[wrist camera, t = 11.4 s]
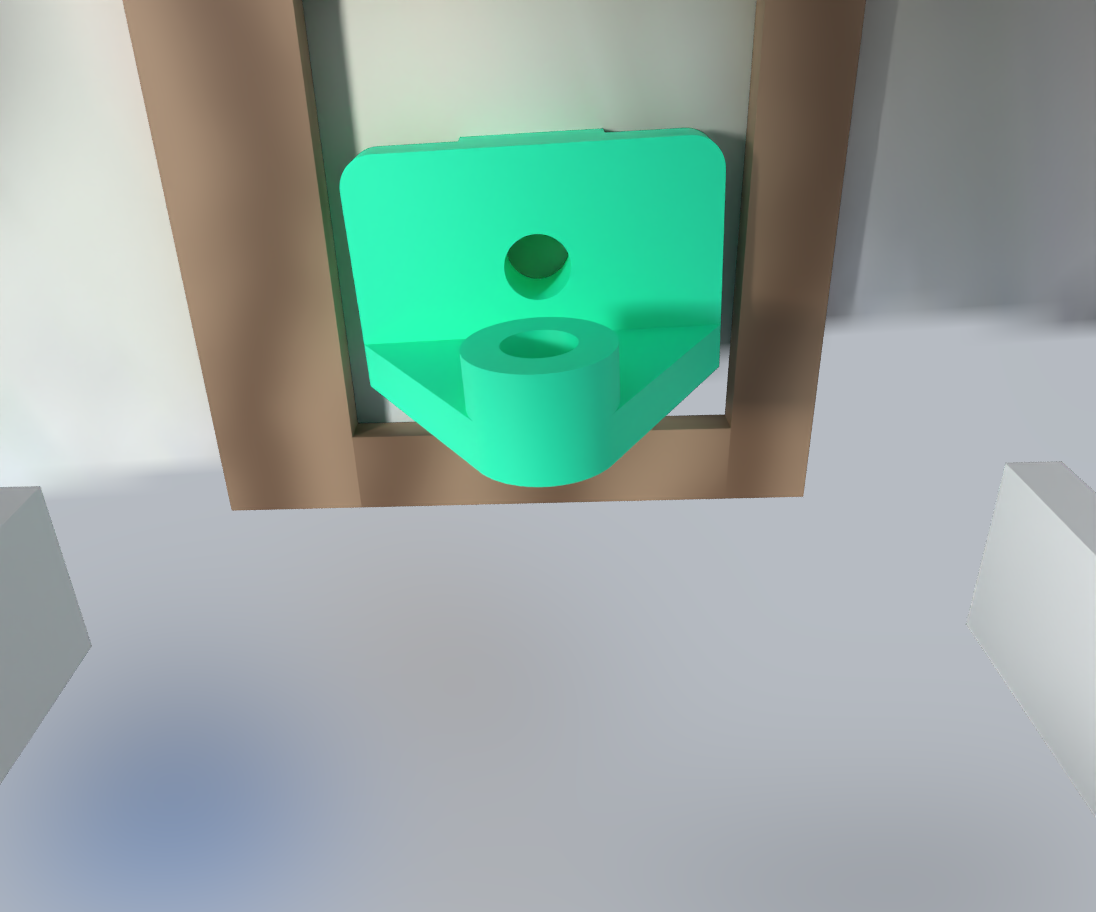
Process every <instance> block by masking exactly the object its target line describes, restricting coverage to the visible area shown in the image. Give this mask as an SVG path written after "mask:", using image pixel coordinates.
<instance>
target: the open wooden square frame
mask: <svg viewBox="0 0 1096 912" xmlns="http://www.w3.org/2000/svg"><path fill="white" fill-rule="evenodd" d="M865 4H866V0H757V2H756V15H755V28H754V41H753V54H752V67H751V80H750V93H749V106H748V119H747V132H746V146H745V159H744V172H743V185H742V198H741V211H740V224H739V237H738V250H737V263H736V276H735V289H734V302H733V316H732V329H731V342H730V355H729V368H728V381H727V395H726V408H725V415H691V416H690V415H689V416H665V417H664V418H663V419H662V420H661V421H660V422H659V423H658V424H657V425H655V426H654V427H653V428H652V429H651V430H650V431H649V432H648V433H647V434H646V435H645V436H644V437H642V438H641V439H640V440H639V441H638V442H637V443H636V444H635V445H634V446H633V447H632V448H631V449H629V450H628V451H627V452H626V453H625V454H624V455H623V456H622V457H621V458H620V459H619V460H618V461H616V462H615V463H614V464H613V465H612V466H611V467H610V468H608V469H607V470H605V471H604V472H602V473H600V474H598V475H596V476H594V477H592V478H589V479H586V480H583V481H580V482H576V483H572V484H567V485H561V486H552V487H524V486H516V485H510V484H505V483H502V482H498V481H496V480H493V479H491V478H489V477H487V476H485V475H483V474H482V473H480V472H479V471H478V470H477V469H475V468H474V467H473V466H472V465H470V464H469V463H468V462H466V461H465V460H464V459H463V458H461V457H460V456H459V455H458V454H456V453H455V452H454V451H452V450H451V449H450V448H449V447H447V446H446V445H445V444H444V443H442V442H441V441H440V440H439V439H437V438H436V437H435V436H433V435H432V434H431V433H430V432H428V431H427V430H426V429H425V428H423V427H422V426H421V425H419V424H418V423H417V422H400V423H358V421H357V414H356V406H355V398H354V391H353V383H352V376H351V368H350V360H349V353H348V345H347V338H346V330H345V323H344V315H343V307H342V300H341V292H340V285H339V277H338V269H337V262H336V254H335V247H334V239H333V231H332V224H331V216H330V209H329V201H328V194H327V186H326V178H325V171H324V163H323V156H322V148H321V140H320V133H319V125H318V118H317V110H316V103H315V95H314V87H313V80H312V72H311V65H310V57H309V49H308V42H307V34H306V27H305V19H304V12H303V4H302V0H123V5H124V9H125V14H126V19H127V23H128V28H129V33H130V37H131V42H132V47H133V51H134V56H135V61H136V65H137V70H138V75H139V79H140V84H141V89H142V93H143V98H144V103H145V107H146V112H147V117H148V121H149V126H150V131H151V135H152V140H153V145H154V149H155V154H156V159H157V163H158V168H159V173H160V177H161V182H162V187H163V192H164V196H165V201H166V206H167V210H168V215H169V220H170V224H171V229H172V234H173V238H174V243H175V248H176V252H177V257H178V262H179V266H180V271H181V276H182V280H183V285H184V290H185V294H186V299H187V304H188V308H189V313H190V318H191V322H192V327H193V332H194V336H195V341H196V346H197V350H198V355H199V360H200V364H201V369H202V374H203V378H204V383H205V388H206V392H207V397H208V402H209V406H210V411H211V416H212V420H213V425H214V430H215V434H216V439H217V444H218V448H219V453H220V458H221V462H222V467H223V472H224V476H225V481H226V486H227V490H228V495H229V499H230V505H231V509H232V510H269V509H270V510H271V509H312V508H351V507H352V508H354V507H392V506H393V507H395V506H433V505H434V506H435V505H477V504H516V503H517V504H519V503H557V502H599V501H639V500H640V501H642V500H683V499H723V498H724V499H725V498H765V497H803V493H804V486H805V478H806V470H807V462H808V454H809V447H810V439H811V431H812V422H813V415H814V407H815V399H816V391H817V383H818V375H819V368H820V360H821V352H822V344H823V336H824V328H825V320H826V312H827V304H828V297H829V289H830V281H831V273H832V265H833V257H834V249H835V241H836V233H837V225H838V218H839V210H840V202H841V194H842V186H843V178H844V170H845V162H846V154H847V147H848V139H849V131H850V123H851V115H852V107H853V99H854V91H855V83H856V75H857V68H858V60H859V52H860V44H861V36H862V28H863V20H864V12H865Z"/></svg>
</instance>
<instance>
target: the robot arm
mask: <svg viewBox="0 0 1096 912" xmlns="http://www.w3.org/2000/svg"><path fill="white" fill-rule="evenodd" d="M966 625H967V626H968V628H969V630H970V631H971V633H972V634H973V635H974V637H975V638H976V640H977V641H978V643H979V644H980V646H981V647H982V649H983V650H984V652H985V653H986V655H987V656H988V658H989V659H990V661H991V662H992V664H993V665H994V667H995V668H996V670H997V671H998V673H999V674H1000V676H1001V677H1002V679H1003V680H1004V682H1005V683H1006V685H1007V686H1008V688H1009V689H1010V691H1011V692H1012V694H1013V695H1014V697H1015V698H1016V700H1017V701H1018V703H1019V704H1020V706H1021V707H1022V709H1023V710H1024V712H1025V713H1026V715H1027V716H1028V718H1029V719H1030V720H1031V722H1032V724H1033V725H1034V727H1035V728H1036V730H1037V731H1038V733H1039V734H1040V735H1041V737H1042V739H1043V740H1044V742H1045V743H1046V745H1047V746H1048V748H1049V749H1050V750H1051V752H1052V753H1053V755H1054V756H1055V757H1056V759H1057V761H1058V762H1059V764H1060V765H1061V767H1062V768H1063V770H1064V771H1065V773H1066V774H1067V776H1068V777H1069V779H1070V780H1071V782H1072V783H1073V785H1074V786H1075V788H1076V789H1077V791H1078V792H1079V794H1080V795H1081V797H1082V798H1083V800H1084V801H1085V803H1086V804H1087V806H1088V807H1089V809H1090V810H1091V812H1092V813H1093V815H1094V816H1095V818H1096V492H1094V491H1093V490H1092V489H1091V488H1090V487H1089V486H1088V485H1087V484H1086V483H1084V481H1082V480H1081V479H1080V478H1079V477H1078V476H1077V475H1076V474H1075V473H1074V472H1073V471H1072V470H1070V469H1069V468H1068V467H1067V466H1066V465H1065V464H1064V463H1063V462H1024V463H1023V462H1021V463H1006V464H1005V467H1004V472H1003V475H1002V480H1001V484H1000V488H999V492H998V496H997V501H996V504H995V508H994V512H993V516H992V521H991V524H990V529H989V533H988V537H987V541H986V545H985V549H984V553H983V558H982V561H981V566H980V569H979V574H978V578H977V582H976V586H975V590H974V594H973V598H972V602H971V606H970V610H969V614H968V619H967V623H966ZM91 647H92V645H91V642H90V639H89V636H88V632H87V629H86V626H85V623H84V620H83V617H82V614H81V611H80V608H79V605H78V602H77V599H76V595H75V592H74V589H73V586H72V583H71V580H70V577H69V574H68V571H67V568H66V564H65V561H64V559H63V555H62V552H61V549H60V546H59V543H58V540H57V537H56V534H55V530H54V528H53V524H52V521H51V518H50V515H49V512H48V509H47V506H46V503H45V500H44V496H43V493H42V490H41V487H40V486H32V487H0V784H1V783H2V781H3V780H4V778H5V777H6V775H7V774H8V772H9V770H10V769H11V768H12V766H13V765H14V763H15V762H16V760H17V759H18V757H19V756H20V754H21V752H22V751H23V749H24V748H25V747H26V745H27V744H28V742H29V741H30V739H31V737H32V736H33V734H34V733H35V731H36V730H37V728H38V727H39V725H40V724H41V722H42V721H43V719H44V718H45V716H46V715H47V713H48V712H49V710H50V709H51V707H52V705H53V704H54V703H55V701H56V700H57V698H58V697H59V695H60V694H61V692H62V691H63V689H64V688H65V686H66V684H67V683H68V682H69V680H70V679H71V677H72V675H73V674H74V672H75V671H76V669H77V668H78V666H79V665H80V663H81V662H82V660H83V659H84V657H85V656H86V654H87V653H88V651H89V650H90V648H91Z"/></svg>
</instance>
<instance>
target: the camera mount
mask: <svg viewBox="0 0 1096 912" xmlns="http://www.w3.org/2000/svg"><path fill="white" fill-rule="evenodd" d="M725 183H726V163H725V158H724V156H723V153H722V151H721V150H720V148H719V147H718V146H717V145H716V144H715V143H714V142H713V141H712V140H711V139H710V138H709V137H708V136H707V135H705V134H704V133H703V132H701V131H699V130H696V129H693V128H672V129H655V130H639V131H622V132H606V133H605V132H604V130H603V128H601V129H585V130H568V131H552V132H535V133H519V134H502V135H486V136H470V137H460V138H459V140H458V141H457V142H441V143H424V144H408V145H391V146H376V147H371V148H368V149H366V150H364V151H362V152H361V153H359V154H358V155H357V156H356V157H355V158H354V159H353V160H352V161H351V162H350V163H349V164H348V165H347V167H346V168H345V169H344V171H343V173H342V176H341V179H340V196H341V203H342V209H343V215H344V221H345V228H346V234H347V240H348V246H349V253H350V259H351V265H352V271H353V278H354V284H355V290H356V296H357V303H358V309H359V315H360V321H361V328H362V334H363V340H364V346H365V353H366V359H367V365H368V371H369V378H370V384H371V387H373V388H374V389H375V390H376V391H378V392H379V393H380V394H381V395H383V396H384V397H385V398H386V399H388V400H389V401H390V402H392V403H393V404H394V405H395V406H397V407H398V408H399V409H400V410H402V411H403V412H404V413H406V414H407V415H408V416H409V417H411V418H412V419H413V420H414V421H416V422H417V423H418V424H419V425H421V426H422V427H423V428H425V429H426V430H427V431H428V432H430V433H431V434H432V435H433V436H435V437H436V438H437V439H439V440H440V441H441V442H442V443H444V444H445V445H446V446H447V447H449V448H450V449H451V450H452V451H454V452H455V453H456V454H458V455H459V456H460V457H461V458H463V459H464V460H465V461H466V462H468V463H469V464H470V465H472V466H473V467H474V468H475V469H477V470H478V471H479V472H480V473H482V474H483V475H485V476H487V477H489V478H491V479H493V480H496V481H498V482H502V483H505V484H510V485H516V486H524V487H552V486H561V485H567V484H572V483H576V482H580V481H583V480H586V479H589V478H592V477H594V476H596V475H598V474H600V473H602V472H604V471H605V470H607V469H608V468H610V467H611V466H612V465H613V464H614V463H615V462H616V461H618V460H619V459H620V458H621V457H622V456H623V455H624V454H625V453H626V452H627V451H628V450H629V449H631V448H632V447H633V446H634V445H635V444H636V443H637V442H638V441H639V440H640V439H641V438H642V437H644V436H645V435H646V434H647V433H648V432H649V431H650V430H651V429H652V428H653V427H654V426H655V425H657V424H658V423H659V422H660V421H661V420H662V419H663V418H664V417H665V416H666V415H667V414H668V413H670V412H671V411H672V410H673V409H674V408H675V407H676V406H677V405H678V404H679V403H680V402H681V401H682V400H684V399H685V398H686V397H687V396H688V395H689V394H690V393H691V392H692V391H693V390H694V389H695V388H697V387H698V386H699V385H700V384H701V383H702V382H703V381H704V380H705V379H706V378H707V377H708V376H710V375H711V374H712V373H713V372H714V371H715V370H716V369H717V368H718V367H719V358H720V329H721V300H722V271H723V241H724V212H725ZM532 234H543V235H548V236H550V237H553V238H555V239H556V240H558V241H559V242H560V243H561V244H562V245H563V246H564V247H565V249H566V250H567V252H568V257H567V259H566V262H565V263H564V265H563V266H562V268H561V269H560V270H559V271H557V272H556V273H555V274H553V275H551V276H549V277H545V278H530V277H527V276H524V275H522V274H521V273H519V272H518V271H517V270H516V269H515V268H514V267H513V266H512V265H511V263H510V261H509V259H508V256H507V252H508V251H509V249H510V248H511V246H512V245H513V244H514V243H515V242H516V241H518V240H519V239H521V238H523V237H525V236H528V235H532Z"/></svg>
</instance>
